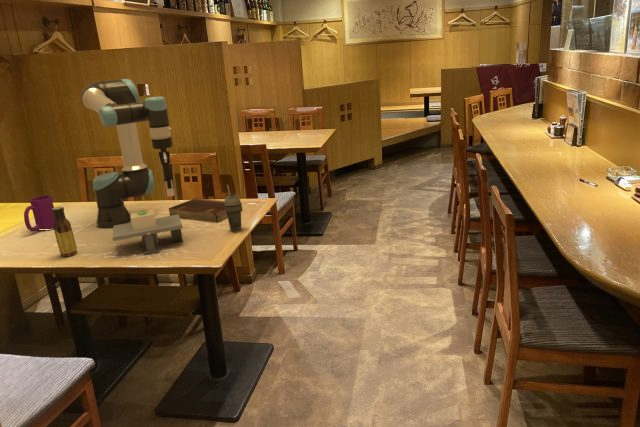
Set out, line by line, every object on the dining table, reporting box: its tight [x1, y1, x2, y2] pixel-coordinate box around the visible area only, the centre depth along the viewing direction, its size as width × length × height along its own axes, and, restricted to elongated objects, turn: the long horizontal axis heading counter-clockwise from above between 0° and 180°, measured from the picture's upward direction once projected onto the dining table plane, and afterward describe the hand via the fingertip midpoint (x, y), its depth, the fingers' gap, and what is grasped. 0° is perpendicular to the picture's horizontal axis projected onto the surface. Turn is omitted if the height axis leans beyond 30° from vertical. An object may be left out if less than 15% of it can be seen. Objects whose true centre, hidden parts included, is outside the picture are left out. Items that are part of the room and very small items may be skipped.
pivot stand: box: [141, 229, 184, 256], centre depth 209 cm, size 16×22×7 cm
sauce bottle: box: [52, 205, 78, 257], centre depth 201 cm, size 7×6×20 cm
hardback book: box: [168, 198, 243, 224], centre depth 244 cm, size 29×19×5 cm, turn 62°
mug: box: [23, 195, 55, 232], centre depth 236 cm, size 9×16×15 cm, turn 163°
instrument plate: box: [112, 209, 184, 242], centre depth 205 cm, size 26×16×8 cm, turn 110°
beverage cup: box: [223, 184, 242, 233], centre depth 215 cm, size 7×7×20 cm
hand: (170, 195), depth 206 cm, fingers closed
